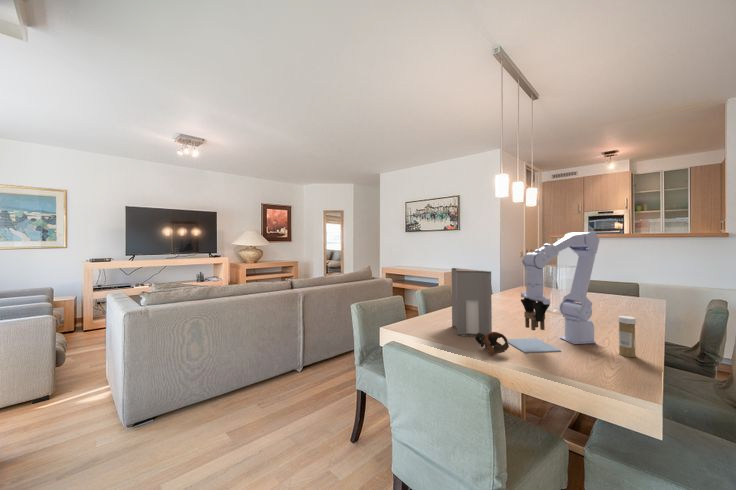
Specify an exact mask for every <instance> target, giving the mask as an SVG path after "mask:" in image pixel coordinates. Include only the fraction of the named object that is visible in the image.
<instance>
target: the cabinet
mask: <svg viewBox="0 0 736 490" xmlns="http://www.w3.org/2000/svg"><path fill="white" fill-rule="evenodd" d="M492 305H493V304H492V270H491V271H490V270H479V269H468V268H459V267H451V327H452V328H454V329H456V334H457V335H456V336H457V337H458V336H459V337H461V336H462V337H475V336H476V334H477V333H482V334H484V335H487V334H488V333H489V332H493V330H492V329H493V326H492V325H493V323H492V318H493V317H492V316H493V315H492V314H493V312H492V311H493V310H492V309H493V307H492Z"/></svg>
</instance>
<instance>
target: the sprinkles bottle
mask: <svg viewBox="0 0 736 490" xmlns="http://www.w3.org/2000/svg"><path fill="white" fill-rule="evenodd" d="M636 320H637V319H636V318H635V317H634V316H629V315H628V316H627V315H619V316H618V345H619V347H618V349H619V351H618V352H619V355H621V356H623V357H627V358H636V356H637V354H636V346H637V345H636V322H637V321H636Z"/></svg>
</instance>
